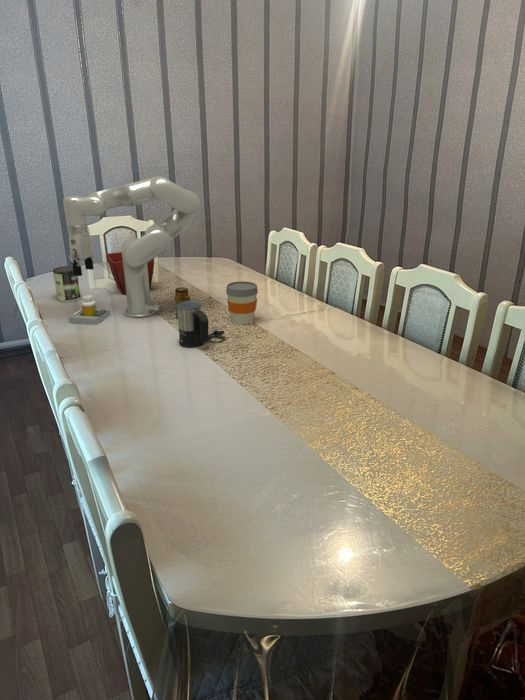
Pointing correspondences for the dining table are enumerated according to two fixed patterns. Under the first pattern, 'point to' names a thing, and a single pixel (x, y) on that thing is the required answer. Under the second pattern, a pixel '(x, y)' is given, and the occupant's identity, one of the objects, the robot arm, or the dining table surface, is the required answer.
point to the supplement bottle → (88, 306)
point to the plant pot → (118, 270)
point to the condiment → (180, 297)
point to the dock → (90, 317)
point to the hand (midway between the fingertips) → (84, 272)
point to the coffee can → (66, 284)
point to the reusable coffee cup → (242, 301)
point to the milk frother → (193, 325)
